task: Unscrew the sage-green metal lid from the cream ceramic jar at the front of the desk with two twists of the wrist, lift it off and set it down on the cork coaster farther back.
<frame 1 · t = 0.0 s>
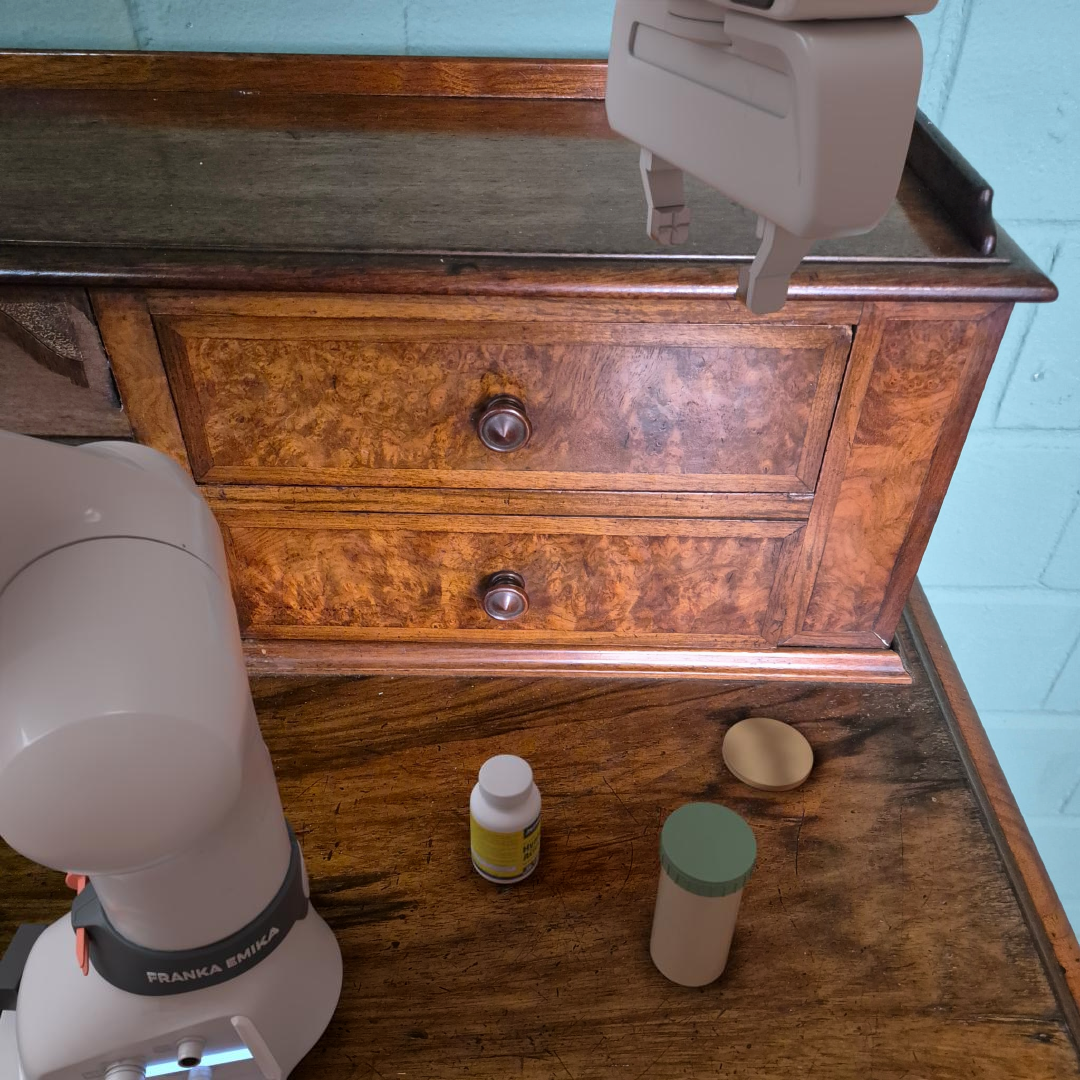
hand: (709, 272, 47), 48 cm above the table, tool pointing down, fingers open, 8 cm apart
jar: (688, 949, 69), on the table
supplement bottle: (506, 857, 75), on the table
jar lid: (708, 844, 62), point 12 cm above the table, screwed on, not yet turned
coaster: (766, 756, 84), on the table
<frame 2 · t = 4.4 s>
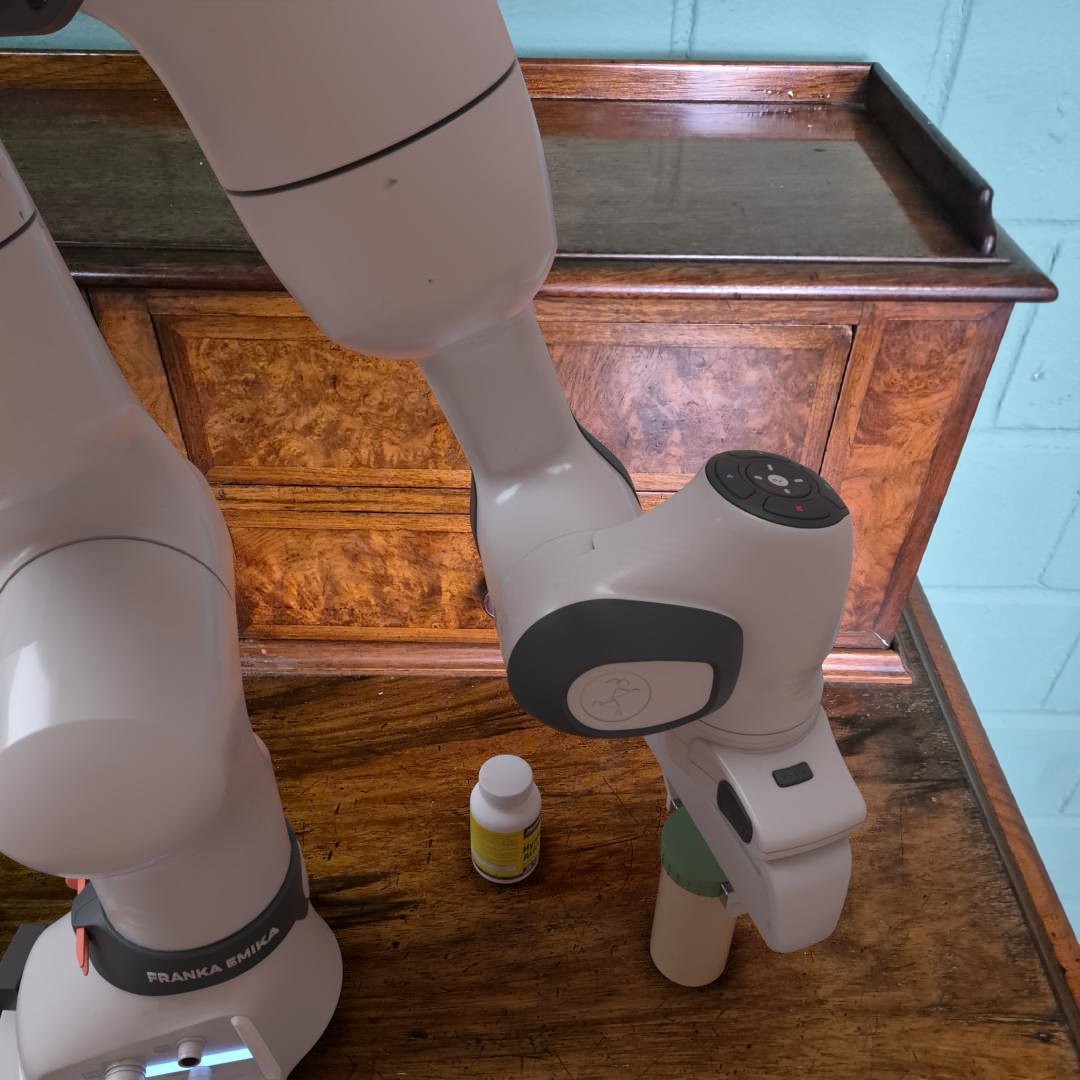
hand: (707, 858, 63), 11 cm above the table, tool pointing down, fingers closed on jar lid, 6 cm apart
jar lid: (708, 844, 62), point 12 cm above the table, screwed on, not yet turned, touching gripper
everything else where it was.
when the fingers open (9 cm above the table, at t = 7.5 s): jar lid stays where it is, point 13 cm above the table.
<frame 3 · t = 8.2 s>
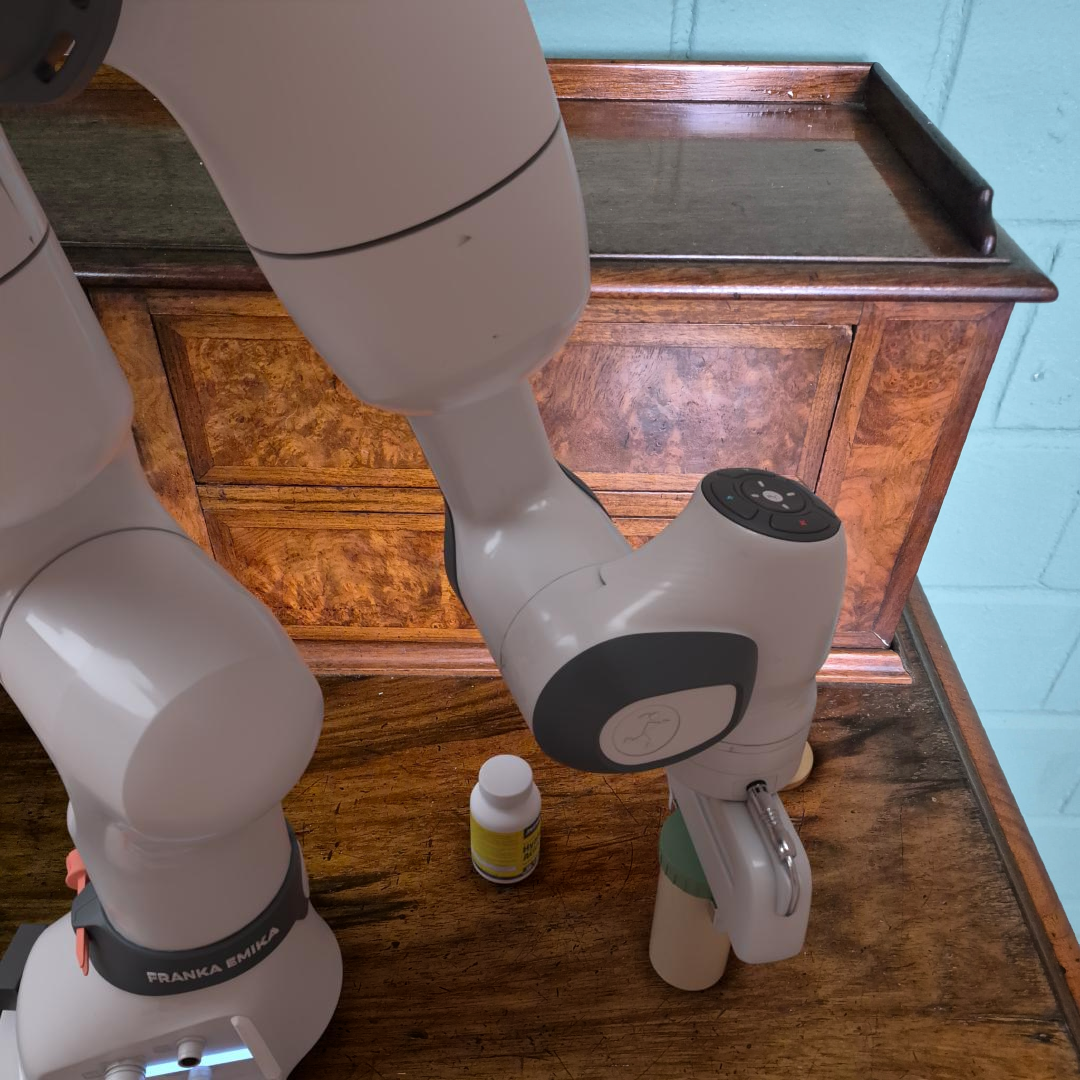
hand: (702, 866, 63), 10 cm above the table, tool pointing down, fingers open, 7 cm apart
jar lid: (707, 845, 61), point 13 cm above the table, turned 176° so far, risen 0.2 cm, still on its thread, touching gripper
everything else where it was.
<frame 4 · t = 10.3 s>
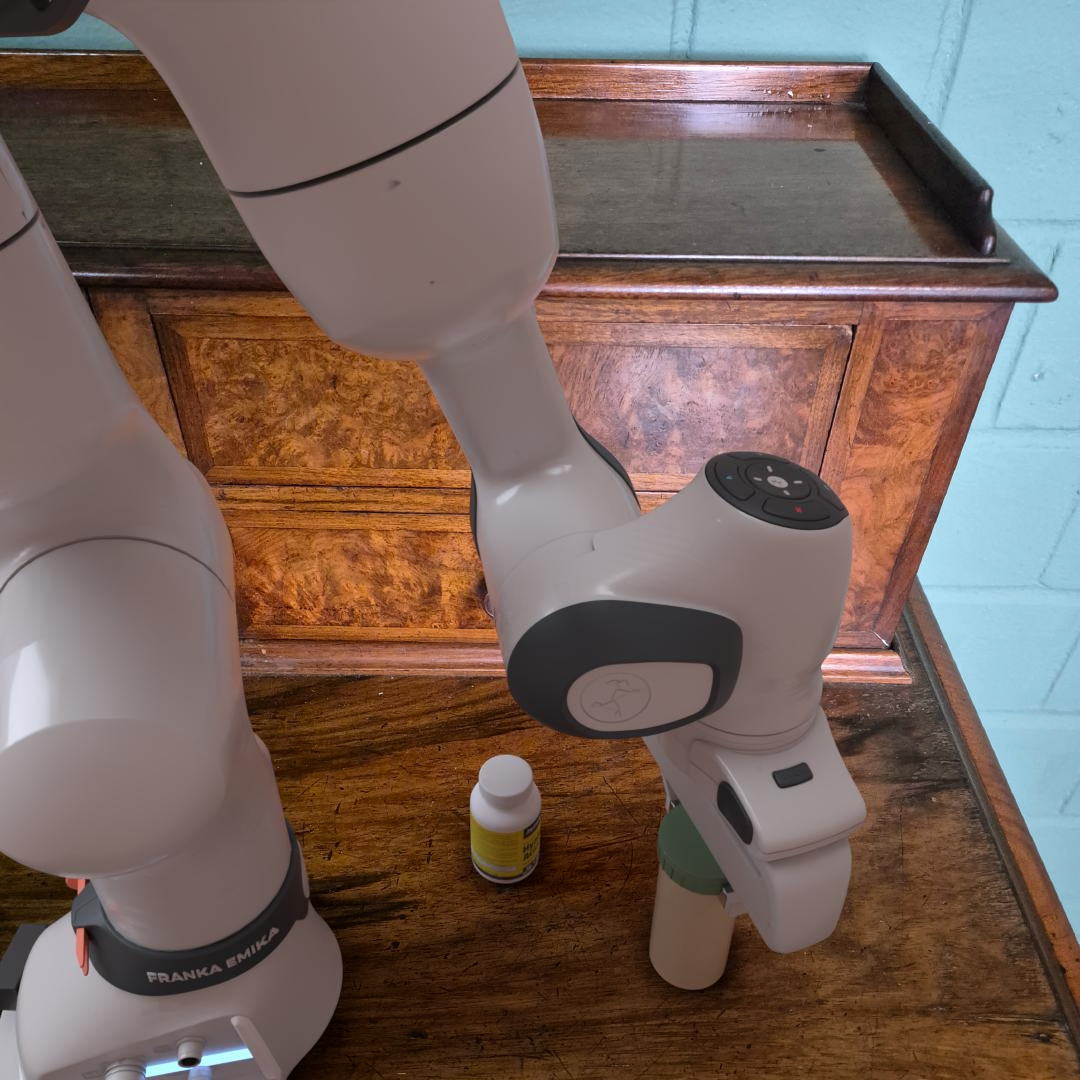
hand: (706, 859, 63), 11 cm above the table, tool pointing down, fingers closed on jar lid, 6 cm apart
jar lid: (705, 841, 62), point 13 cm above the table, turned 174° so far, risen 0.2 cm, still on its thread, touching gripper
everything else where it was.
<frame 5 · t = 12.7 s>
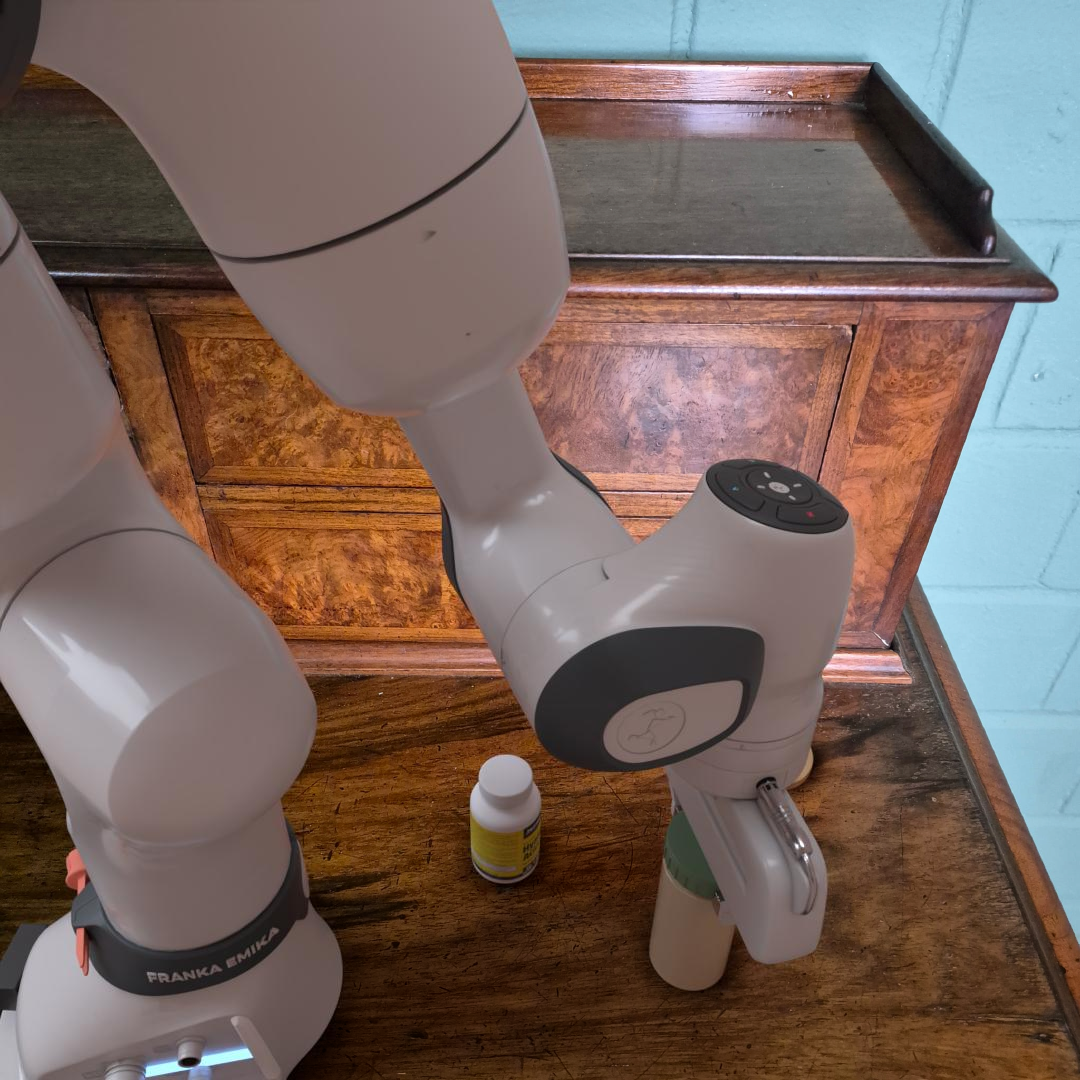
hand: (705, 865, 62), 11 cm above the table, tool pointing down, fingers closed on jar lid, 6 cm apart
jar lid: (713, 845, 61), point 13 cm above the table, off its thread, touching gripper
everything else where it was.
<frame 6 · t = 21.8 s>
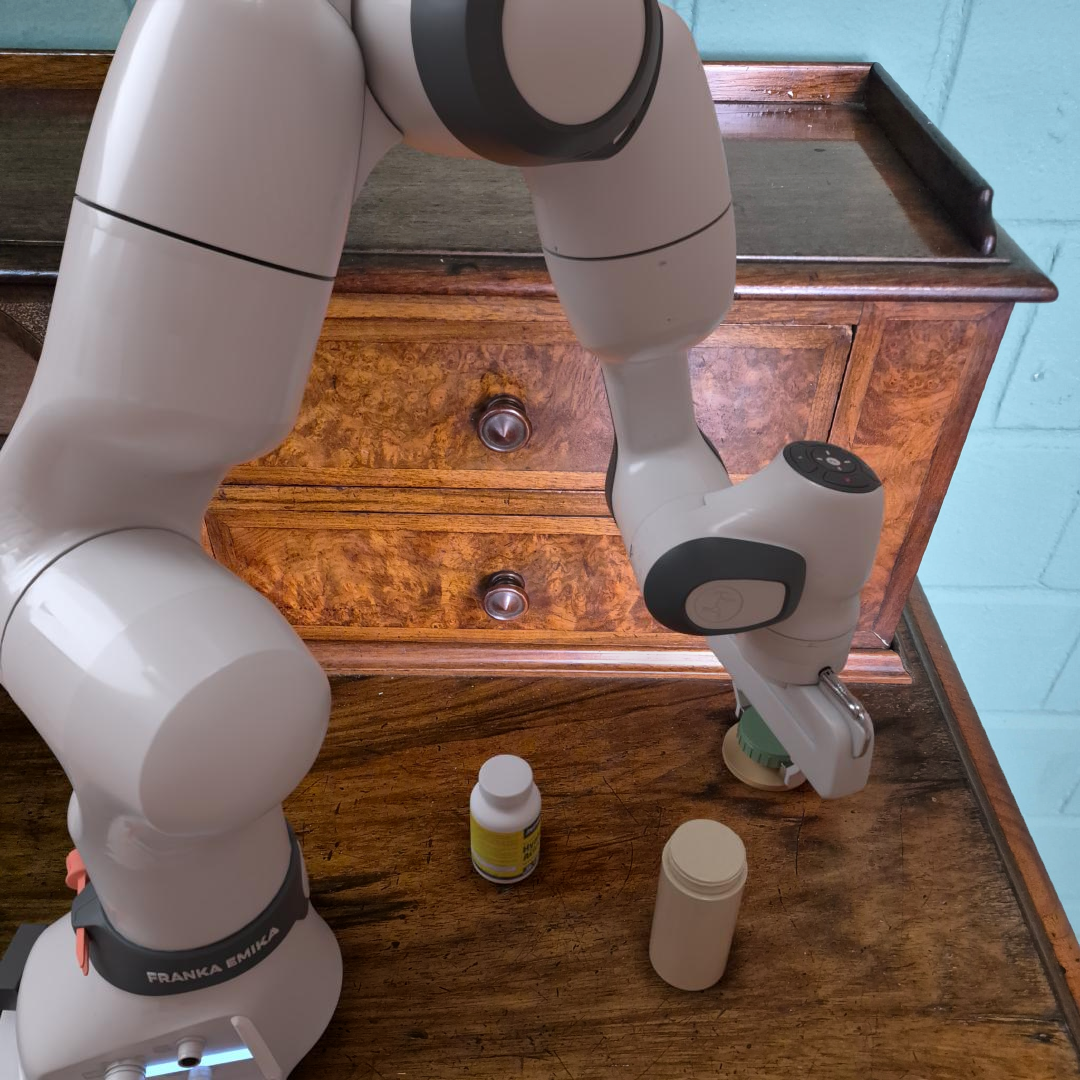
hand: (768, 748, 84), 1 cm above the table, tool pointing down, fingers closed on coaster, jar lid, 6 cm apart
jar lid: (775, 731, 82), point 3 cm above the table, off its thread, touching gripper
everything else where it was.
when the fingers open (3 cm above the table, at t = 37.2 s): jar lid drops 3 cm, resting on coaster.
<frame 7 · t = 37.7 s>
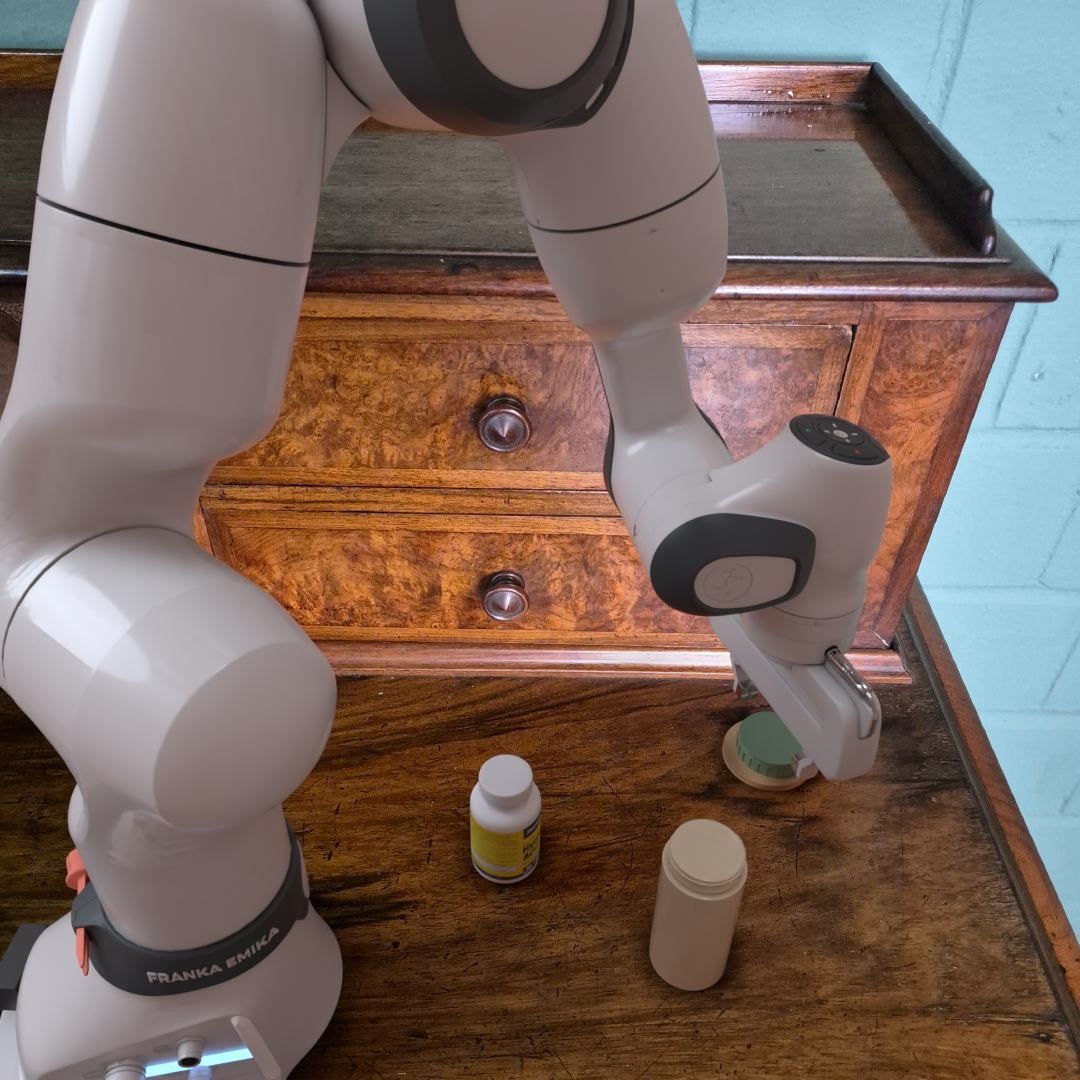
hand: (772, 732, 82), 3 cm above the table, tool pointing down, fingers open, 8 cm apart
jar lid: (773, 740, 83), point 2 cm above the table, off its thread, touching coaster
everything else where it was.
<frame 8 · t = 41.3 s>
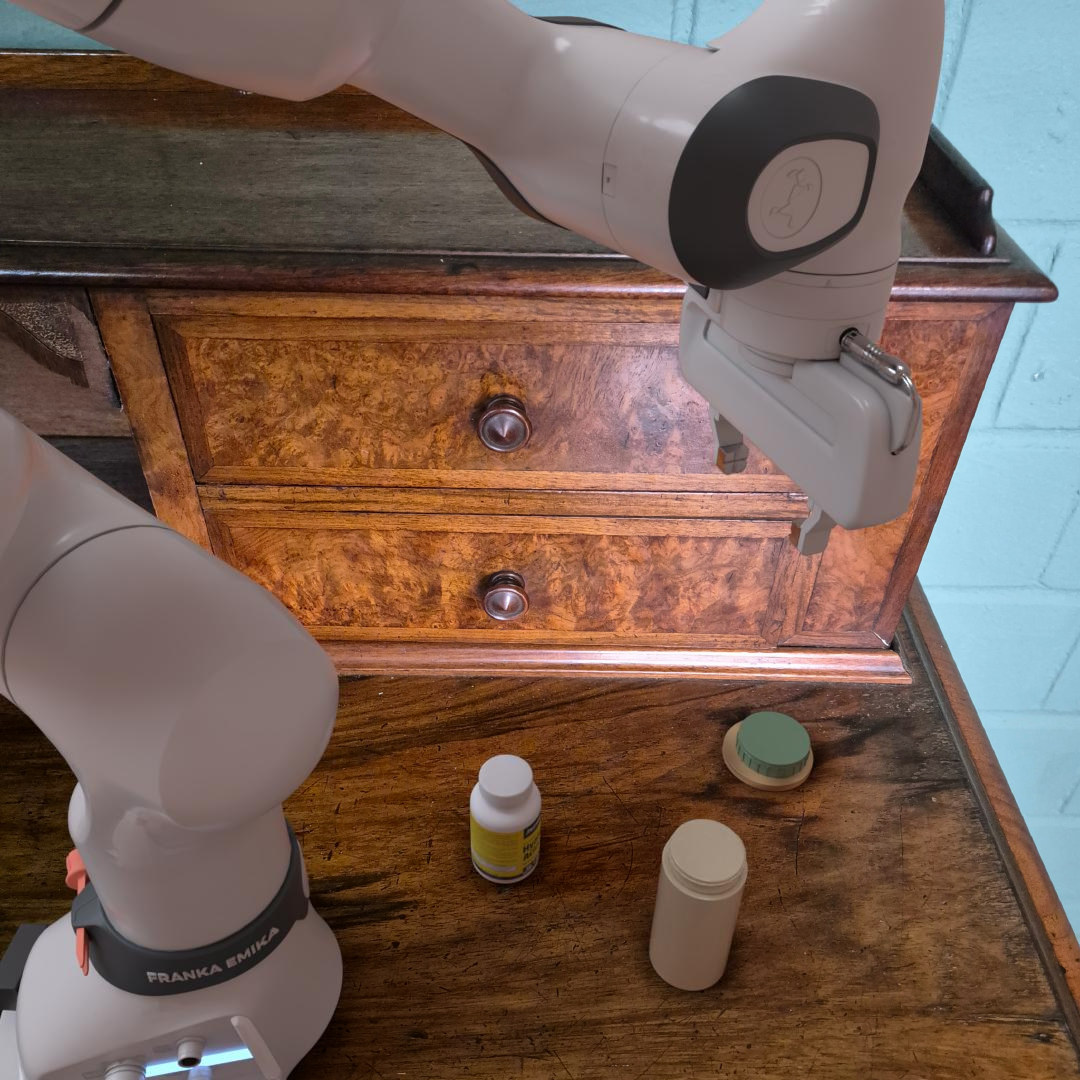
hand: (765, 506, 60), 31 cm above the table, tool pointing down, fingers open, 8 cm apart
nothing on the table moved.
at the end: jar lid came off its thread; jar lid inside the target area on the coaster (0.3 cm from its centre), point 2.1 cm above the coaster's base; the gripper is holding nothing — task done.
